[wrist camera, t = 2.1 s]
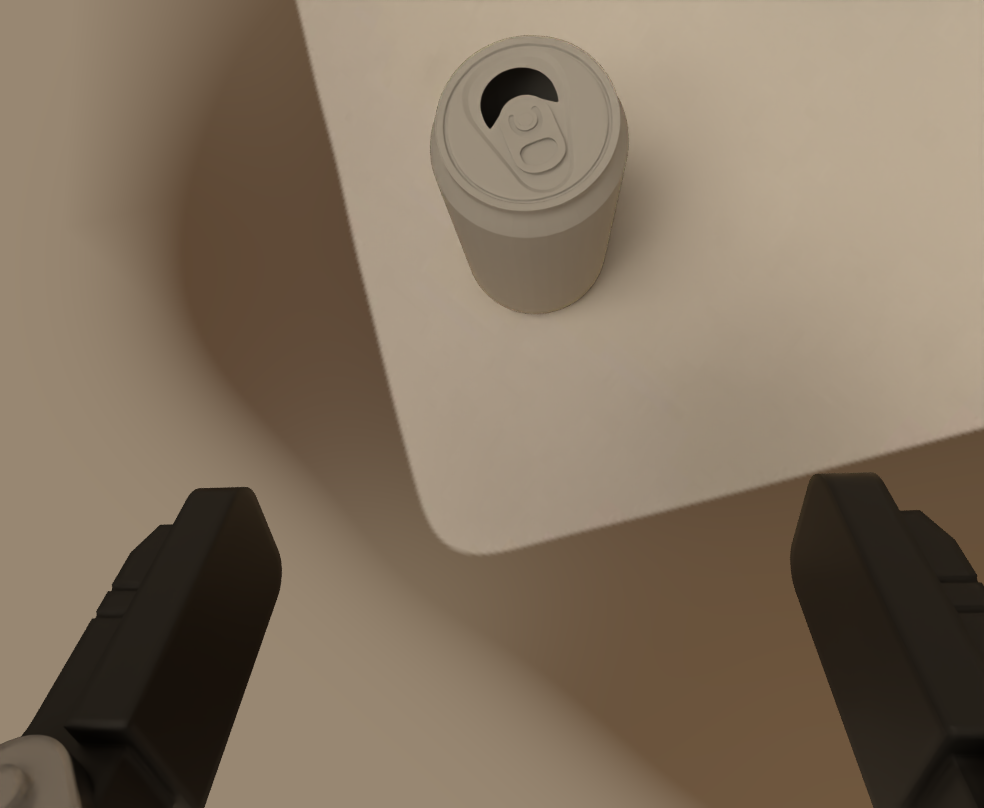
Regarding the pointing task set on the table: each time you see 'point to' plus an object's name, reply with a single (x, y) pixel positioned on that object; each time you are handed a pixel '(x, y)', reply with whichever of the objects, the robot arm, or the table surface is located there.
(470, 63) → the beverage can
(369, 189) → the table surface
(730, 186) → the table surface
